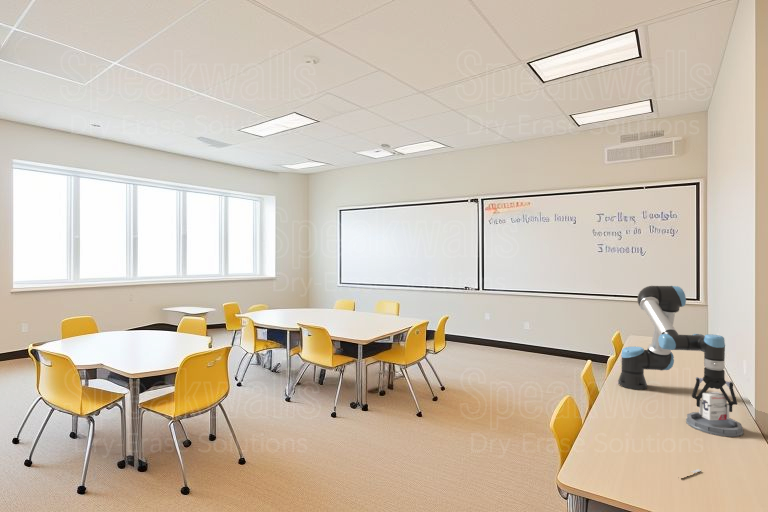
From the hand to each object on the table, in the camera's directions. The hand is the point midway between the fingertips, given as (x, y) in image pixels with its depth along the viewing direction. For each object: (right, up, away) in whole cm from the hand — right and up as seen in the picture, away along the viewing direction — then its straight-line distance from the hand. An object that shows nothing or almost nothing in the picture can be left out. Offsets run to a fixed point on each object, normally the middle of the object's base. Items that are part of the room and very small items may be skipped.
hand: (713, 415), depth 196 cm
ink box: (0, -1, 0) cm, 1 cm away
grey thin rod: (-42, -7, -42) cm, 59 cm away
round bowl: (0, -5, 0) cm, 5 cm away
